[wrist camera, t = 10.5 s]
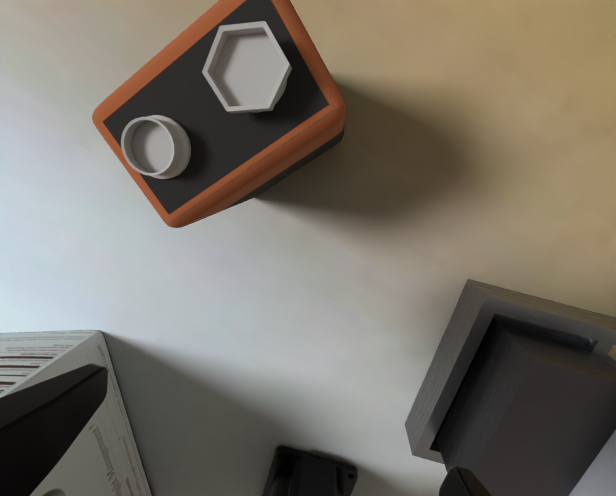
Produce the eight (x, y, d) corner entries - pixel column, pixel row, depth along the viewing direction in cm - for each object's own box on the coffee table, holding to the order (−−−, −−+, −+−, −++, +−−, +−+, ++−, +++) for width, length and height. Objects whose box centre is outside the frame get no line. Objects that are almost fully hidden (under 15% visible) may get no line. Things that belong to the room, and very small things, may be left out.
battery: (347, 137, 17) (355, 107, 7) (249, 201, 18) (150, 243, 9) (305, 64, 16) (254, -80, 6) (207, 136, 18) (49, 107, 8)
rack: (596, 477, 21) (682, 584, 16) (404, 423, 22) (425, 510, 16) (697, 339, 18) (850, 416, 12) (468, 279, 18) (520, 328, 13)
